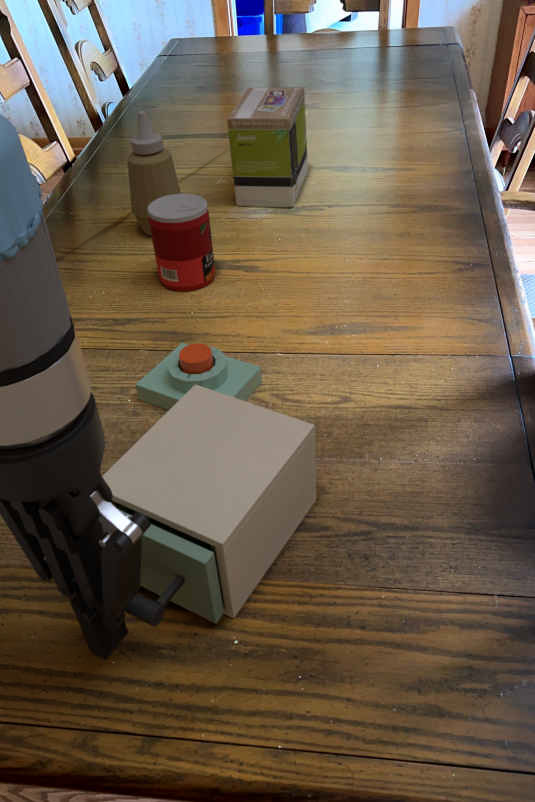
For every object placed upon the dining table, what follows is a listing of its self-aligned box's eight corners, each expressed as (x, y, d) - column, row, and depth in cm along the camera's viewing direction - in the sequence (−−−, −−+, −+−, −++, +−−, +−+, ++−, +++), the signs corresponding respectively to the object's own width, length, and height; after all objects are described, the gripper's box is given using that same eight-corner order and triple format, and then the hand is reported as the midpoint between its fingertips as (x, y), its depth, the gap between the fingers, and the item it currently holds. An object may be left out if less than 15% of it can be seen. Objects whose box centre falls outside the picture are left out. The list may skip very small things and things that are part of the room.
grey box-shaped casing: (234, 619, 58) (222, 544, 52) (114, 560, 64) (91, 485, 57) (316, 500, 68) (315, 424, 62) (206, 457, 73) (195, 383, 67)
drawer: (184, 669, 54) (169, 610, 49) (72, 608, 59) (48, 548, 54) (297, 510, 66) (294, 448, 61) (195, 469, 70) (185, 409, 65)
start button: (174, 370, 79) (172, 357, 78) (193, 352, 81) (191, 340, 80) (201, 379, 77) (199, 366, 76) (219, 361, 80) (218, 348, 78)
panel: (138, 399, 81) (132, 371, 78) (184, 356, 87) (180, 329, 84) (219, 429, 76) (215, 400, 74) (262, 381, 82) (260, 353, 79)
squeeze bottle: (164, 244, 109) (144, 125, 98) (125, 233, 113) (101, 117, 101) (196, 223, 114) (181, 107, 103) (157, 213, 118) (139, 100, 106)
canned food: (218, 288, 98) (210, 213, 91) (161, 296, 98) (147, 221, 91) (213, 261, 104) (204, 189, 97) (158, 268, 104) (145, 197, 96)
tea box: (254, 171, 129) (248, 85, 120) (309, 172, 127) (307, 85, 118) (234, 207, 118) (225, 115, 108) (294, 209, 116) (290, 116, 107)
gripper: (-108, 412, 40) (13, 643, 55) (65, 493, 34) (146, 725, 50) (-6, 342, 45) (79, 573, 60) (159, 403, 39) (207, 640, 54)
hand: (109, 642), depth 55 cm, fingers closed
